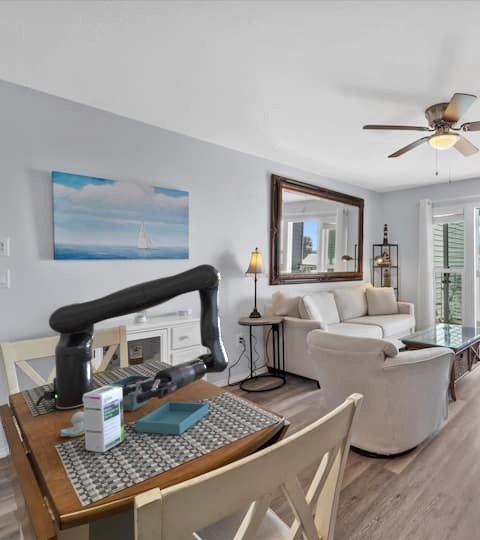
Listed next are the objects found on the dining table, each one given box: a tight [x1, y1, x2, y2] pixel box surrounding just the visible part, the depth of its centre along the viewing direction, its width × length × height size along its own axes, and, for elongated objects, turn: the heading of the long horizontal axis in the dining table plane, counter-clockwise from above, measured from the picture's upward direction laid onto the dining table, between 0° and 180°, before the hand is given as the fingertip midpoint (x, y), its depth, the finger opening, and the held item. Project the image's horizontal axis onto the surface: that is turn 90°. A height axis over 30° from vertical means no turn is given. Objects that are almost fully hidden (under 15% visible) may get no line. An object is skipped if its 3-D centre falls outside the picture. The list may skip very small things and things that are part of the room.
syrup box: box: [83, 385, 125, 453], centre depth 85 cm, size 6×6×14 cm
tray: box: [135, 401, 209, 436], centre depth 98 cm, size 13×13×3 cm
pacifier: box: [60, 411, 85, 438], centre depth 91 cm, size 7×6×6 cm
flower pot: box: [108, 374, 154, 412], centre depth 107 cm, size 9×9×9 cm
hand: (125, 397), depth 90 cm, fingers open, 8 cm apart
